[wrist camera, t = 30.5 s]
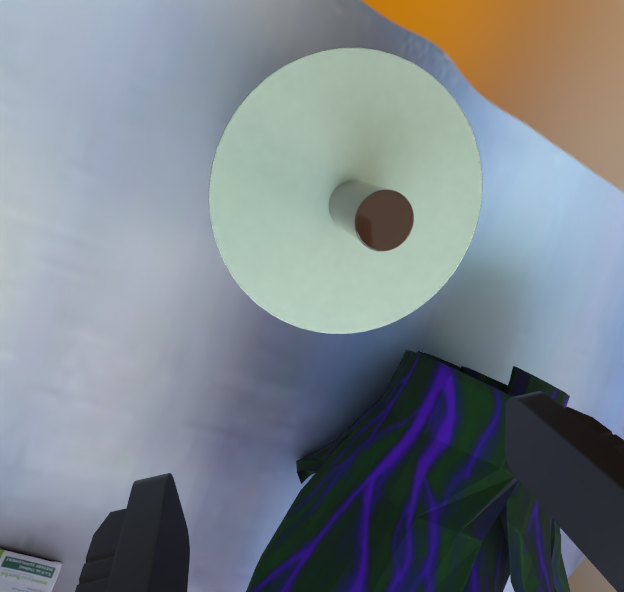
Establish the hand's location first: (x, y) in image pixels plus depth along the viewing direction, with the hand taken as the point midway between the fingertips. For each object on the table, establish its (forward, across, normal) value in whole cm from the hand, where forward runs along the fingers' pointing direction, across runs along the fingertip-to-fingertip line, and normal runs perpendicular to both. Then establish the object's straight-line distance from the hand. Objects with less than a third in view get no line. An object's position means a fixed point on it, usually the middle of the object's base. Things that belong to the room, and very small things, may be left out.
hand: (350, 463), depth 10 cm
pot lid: (+13, -4, -4) cm, 15 cm away
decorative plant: (+24, -7, +21) cm, 33 cm away
